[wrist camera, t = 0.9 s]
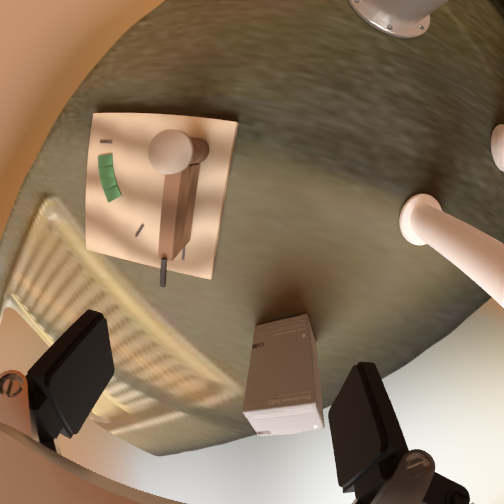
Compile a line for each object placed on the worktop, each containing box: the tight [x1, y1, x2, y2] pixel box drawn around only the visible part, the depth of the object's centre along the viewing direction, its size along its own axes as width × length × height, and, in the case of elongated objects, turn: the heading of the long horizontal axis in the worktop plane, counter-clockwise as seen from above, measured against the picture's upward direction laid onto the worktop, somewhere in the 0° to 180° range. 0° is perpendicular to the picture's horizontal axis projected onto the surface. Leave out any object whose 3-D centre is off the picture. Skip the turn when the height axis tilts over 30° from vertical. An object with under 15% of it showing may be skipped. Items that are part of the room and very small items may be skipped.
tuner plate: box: [86, 113, 239, 280], centre depth 33 cm, size 20×20×2 cm
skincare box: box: [243, 314, 325, 436], centre depth 33 cm, size 8×7×16 cm
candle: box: [399, 194, 504, 308], centre depth 20 cm, size 7×7×25 cm
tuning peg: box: [148, 129, 209, 287], centre depth 28 cm, size 16×4×9 cm, turn 169°
